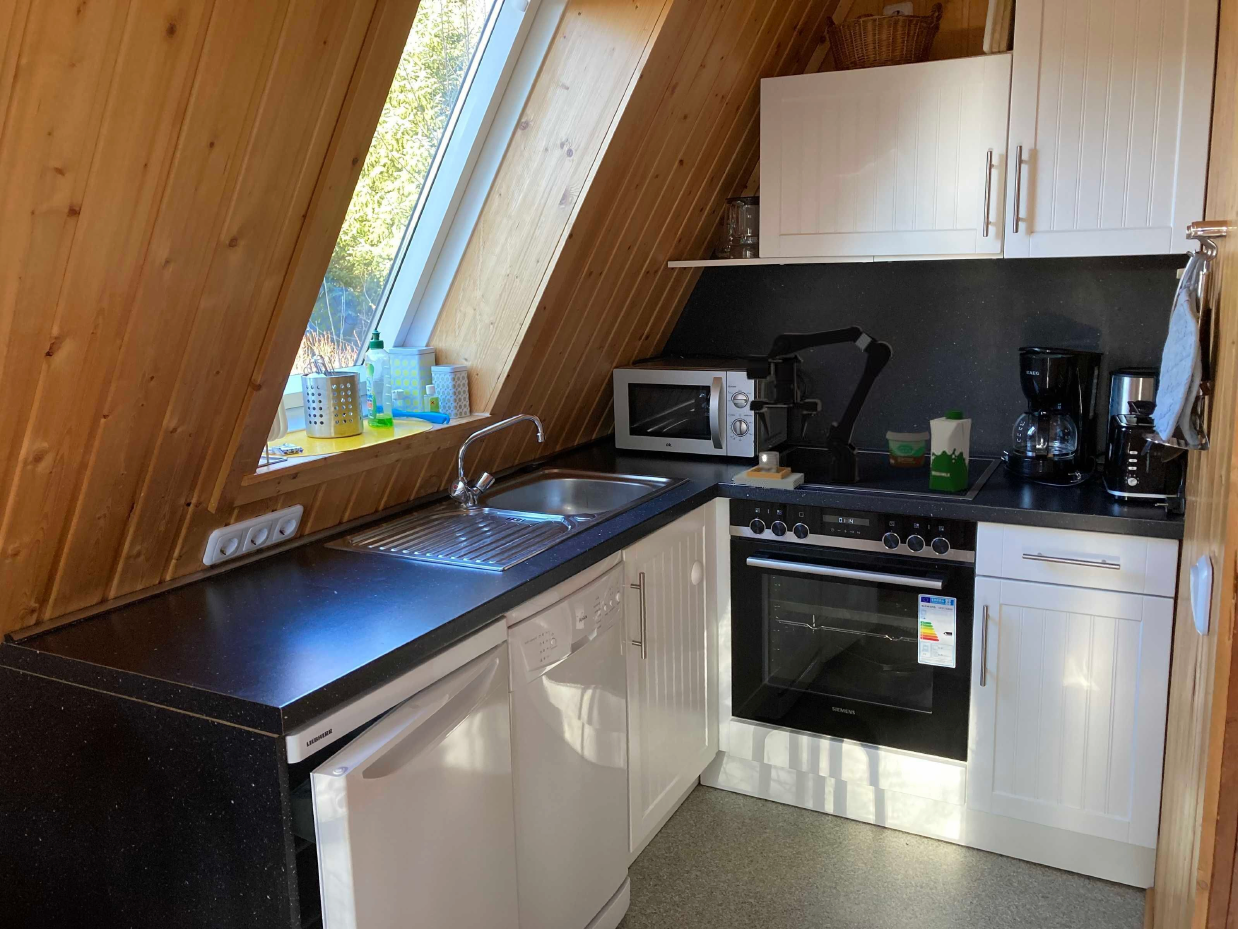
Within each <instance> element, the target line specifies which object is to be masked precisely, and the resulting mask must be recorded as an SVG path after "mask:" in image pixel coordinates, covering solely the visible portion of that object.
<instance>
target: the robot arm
mask: <svg viewBox="0 0 1238 929" xmlns="http://www.w3.org/2000/svg"><path fill="white" fill-rule="evenodd" d="M847 342H852V343H854V345H856V346H858V347H859V349H860V350H862V351H863V352H865V353H866V354H867V357H866V360H865V365H864V369H863V373H862V375H861V377H860V379H859V381H858V384H857V385H856V388H855V390H854V392H853V393H852V396H851V399H850V400H849V403H848V405H847V406H846V409H845V411H844V412H843V413H844V414H843V416H842V418H841V419H840V421H839V422H838V423H837V422H836V421H833V422H832V423H831V425H830V428H829V431H828V433H827V435H825V439H826V442H825V447H826V449H827V450H828V452H829V453H830V454H832V456H833V458H832V462H831V463H830V466H829V469H830V470H829V471H830V473H829V474H830V475H829V476H830V477H829V478H830V483H842V484H843V483H844V484H855V483H856V482H858V481H859V480H860V477H858V473H859V457H856V455H857V453H858V448H857V447H856V446H855V444H853V443H852V441H851V440H852V435H853V431H854V428H855V423H856V421H857V419H858V417H859V415H860V413H861V411H862V409H863V407H864V405H865V403H866V401H867V398H868V396H869V395H870V392H871V390H872V388H873V385H874V384H875V382H876V380H877V377H878V376H880V373H881V372H882V371H883V370H884V368H885V366H886V365H887V364H888V362H889V361H890V360H891V358H892V356H893V348H892V345H891V344H889V343H888V342H886V341H882V340H881V341H879V340H878V339H877V338H876V337H874V336H872V335H870V334H869V333H868V332H866V331H865V330H863V329H862V328H861V327H860V326H858V325H852V326H850V327H843V328H836V329H832V330H829V329H828V330H825V331H824V330H823V331H817V332H810V333H800V332H784V333H780V334H778V335H776V337H775V338H774V339H773V342H772V348H771V349H770V351H769V352H767V355H758V354H757V355H756V354H748V356H747V363H746V368H745V373H746V379H747V381H750V380H751V381H766V380H767V381H769V379H770V377H773V374H774V384H773V389H774V392H773V397H774V399H773V401H769V399H768V398H754V399H752V400H751V401H750V402H749V411H750V412H752V411H753V413H754V414H755V415H757V416H758V418H759V420H760V421H761V423H762V426H763V428H764V430H765V433H766V434H767V437H771V425H770V424H771V421H770V409H788V410H789V409H791V410H792V409H797V410H798V409H799V410H803V412H802V413H801V417H800V418H801V419H800V438H804V434H805V432H806V429H807V426H808V423H809V420H810V419H811V417H812V416H814V415H815V414H816V413H818V412H820V411H821V410H822V401H821V400H820V399H816V398H815V399H811V398H810V399H805V400H803V401H801V402H800V399H801V391H800V390H799V389H798V386H797V375H796V374H797V364H801V363H803V362H804V359H803V358H801V357H800V356H799V353H796V352H800V351H802V350H806V349H807V348H808V349H809V348H813V347H821V346H827V345H828V346H829V345H833V344H839V343H840V344H841V343H847ZM793 353H796V354H794V356H787V355H790V354H793ZM780 356H782V358H781V360H774V359H777V358H779V357H780Z"/></svg>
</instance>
